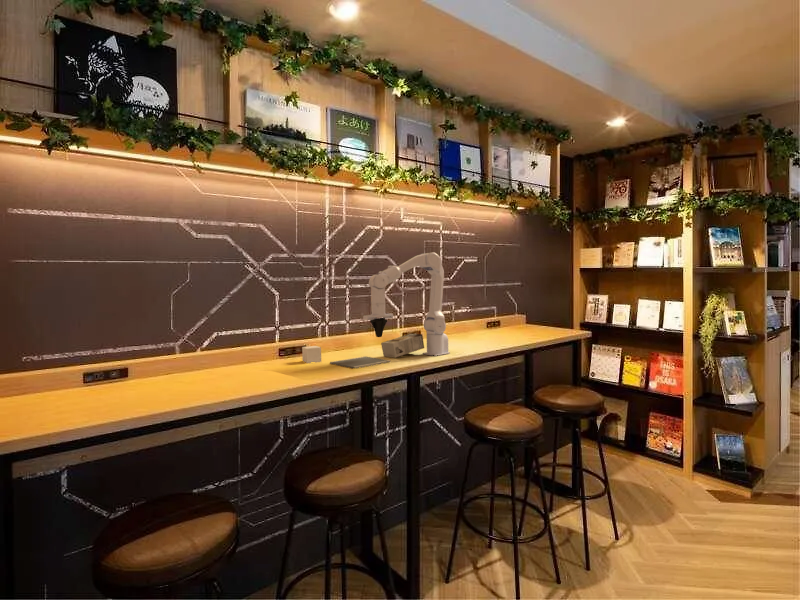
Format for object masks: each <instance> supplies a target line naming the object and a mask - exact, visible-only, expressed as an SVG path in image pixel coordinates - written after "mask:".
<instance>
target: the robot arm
mask: <svg viewBox="0 0 800 600" xmlns="http://www.w3.org/2000/svg"><path fill="white" fill-rule="evenodd" d="M415 267H419V268H421V269H423V270H425V271H427V273H428V274H429V275H430V277H431V278H430V293H429V307H428V308H429V309H428V312H427V313H426V315H425V320H424V322H423V329H424V330H425V332H426V352H425V351H424V352H422V355H427V356H433V355H434V357H437V355H438V356H442V355H446V354H447V355H448V354H451V351H449V337H448V335H447V334H446V333H444V332H445V331H446V328H447V325H446V320H445V319H446V318H445V315H444V313H443V312H442V311H443V310H442V309H443V297H444V295H443V294H444V293H443V292H444V280H445V271H444V267H443V264H442V257H441V256H440V255H439V254H438V253H436V252H434V251H433V252H427V253H426V252H425V253H420V254H418V255H415V256H413V257H412V258H409V259H408V260H407V261H405V262H403V263H401V264H400V265H398V266H396V265H388V266H387V268H385V269H384V270H382V271H381V270H380V271H378V272H377V273H378V274H373V275H371V277H370V278H369V281H368V285H369V287H370V297H371V302H370V304H371V306H370V307H371V313H370V314H368V315H367V314H366V315H363V317H362V318H363V319H362V320H363V321H365V322H367V321H368V322H370V324H371V326H372V327H373V331H374V333H375V336H376V338H382V337H383V333H384V329H385V328H386V327H385V326H386V324H387V322H388V319H394V313H386V287H387V285H389V284H391V283H392V282H394V281H396V280H398V279H400V278H401V276H402V274H403V273H405V272H407V271H409V270H411V269H412V268H415Z"/></svg>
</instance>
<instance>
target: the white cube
mask: <svg viewBox="0 0 800 600" xmlns="http://www.w3.org/2000/svg"><path fill="white" fill-rule="evenodd" d="M301 352H302V353H301V355H302V357H301V358H302V359H301V360H302V362H303V361H304V362H303V363H305V362H306V364H312V363H311V362H315V363H322V347H321V346H318V345H312V346H311V345H309V346H302V347H301Z"/></svg>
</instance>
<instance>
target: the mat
mask: <svg viewBox="0 0 800 600" xmlns="http://www.w3.org/2000/svg"><path fill="white" fill-rule="evenodd" d="M387 362H389V363H392V362H391V360H389V359H382V358H377V357H371V356H360V357H353V358H347V359H341V360H333V361H330V362H329V365H334V364H336V365H335V366H339V365H340V366H339V367H344V366H345V368H348V367H350V368H349V369H353V368H356V369H360V368H359V367H361V368H366V367H365V366H367V367H372V366H377V365H376V364H378V365H382V364H381V363H384V364H388V363H387ZM371 365H372V366H371Z"/></svg>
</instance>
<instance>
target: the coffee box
mask: <svg viewBox="0 0 800 600" xmlns="http://www.w3.org/2000/svg"><path fill="white" fill-rule="evenodd" d="M380 345H381V350H382V354H383V355H382V356H383V357H384V356H385V358H386V357H387V358H394V359H395V358H399V357H402V356H405V355H408V354H410V353H414V352H417V351H420V350H422V349H425V345H424V336H423V334H419V333H407V334H404V335H401V336H398V337H395V338H393V339H392V338H391V339H389V340H386V341H383V342H381V344H380Z"/></svg>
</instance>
